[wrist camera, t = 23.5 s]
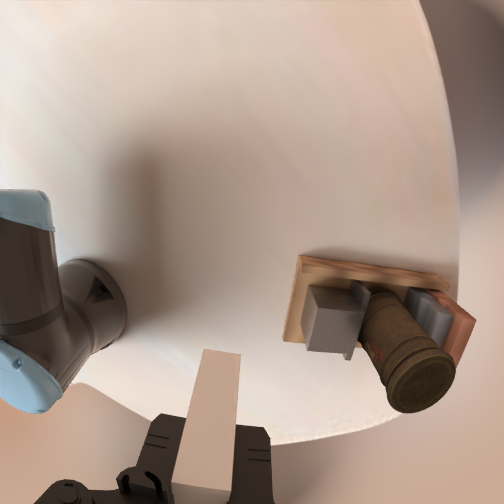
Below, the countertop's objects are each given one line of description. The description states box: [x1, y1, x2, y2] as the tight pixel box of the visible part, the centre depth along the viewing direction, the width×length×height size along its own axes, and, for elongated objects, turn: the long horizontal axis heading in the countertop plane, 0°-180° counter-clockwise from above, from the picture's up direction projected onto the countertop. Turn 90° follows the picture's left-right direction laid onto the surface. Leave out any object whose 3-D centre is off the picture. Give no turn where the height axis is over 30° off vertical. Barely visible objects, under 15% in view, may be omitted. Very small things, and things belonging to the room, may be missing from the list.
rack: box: [283, 255, 476, 367], centre depth 41 cm, size 23×13×14 cm, turn 82°
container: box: [357, 287, 456, 413], centre depth 37 cm, size 9×9×18 cm
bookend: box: [300, 279, 371, 360], centre depth 42 cm, size 7×10×8 cm
